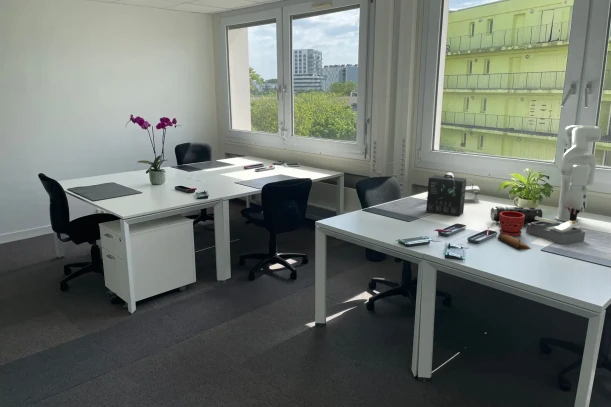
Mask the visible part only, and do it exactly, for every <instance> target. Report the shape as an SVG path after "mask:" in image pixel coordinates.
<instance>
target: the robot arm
mask: <svg viewBox="0 0 611 407" xmlns="http://www.w3.org/2000/svg"><path fill="white" fill-rule="evenodd" d="M564 136H565V140H566V144H567V146H566V147H567V149H566V152H565V153H564V154H563V155H562V157H561V159H560V160H561V161H560V174H561V175H560V191H559V192H560V194H559V200H558V201H559V202H558V208H557V214H556V215H555V216H554V219H555V220H556V221H559V222H560V221H561V222H564V223H565V222H567V221H569V220H570V221H575V222H578V217H579V216H580V213H584V212H585V210H586V209H587V207H588V191H587V190H588V188H589V187H591V186H592V185H594V184H593V183H594V179H595V173H596V166H597V157H596V155H595V154H593V153H587V152H588V151H589V143H599V142H600V140H601V138H602V130H601V128H600V127H599V126H598V125H597V126H596V125H569V126H566V127H565V130H564Z"/></svg>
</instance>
